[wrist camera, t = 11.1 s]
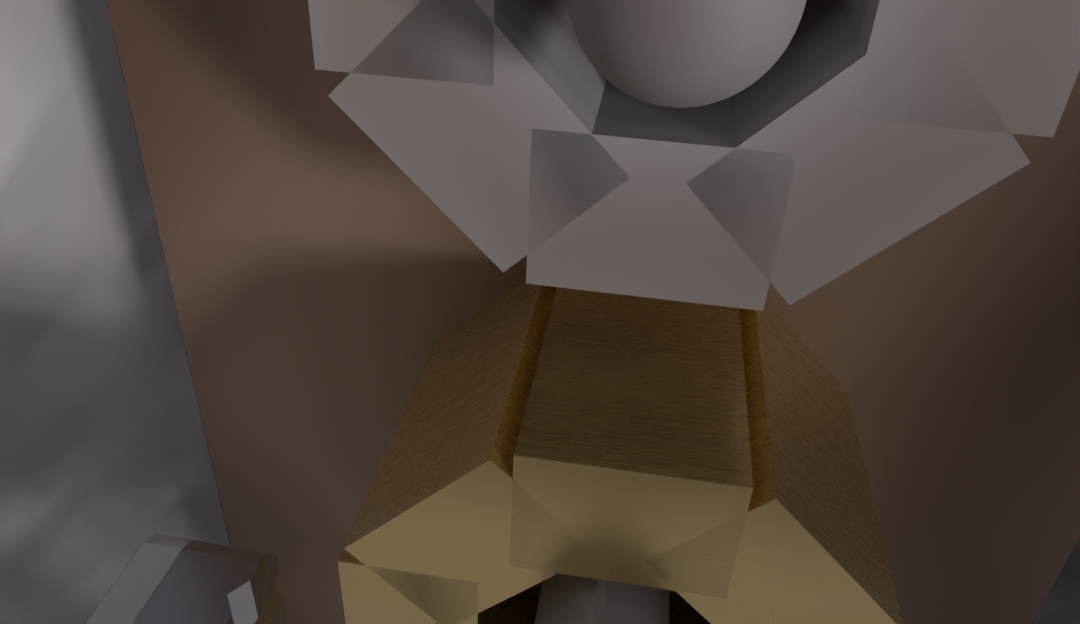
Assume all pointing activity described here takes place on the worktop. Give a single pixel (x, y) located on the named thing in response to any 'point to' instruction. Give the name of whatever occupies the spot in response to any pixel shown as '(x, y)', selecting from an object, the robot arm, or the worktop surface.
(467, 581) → the octagonal hollow tube
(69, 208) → the worktop surface
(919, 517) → the gear board
